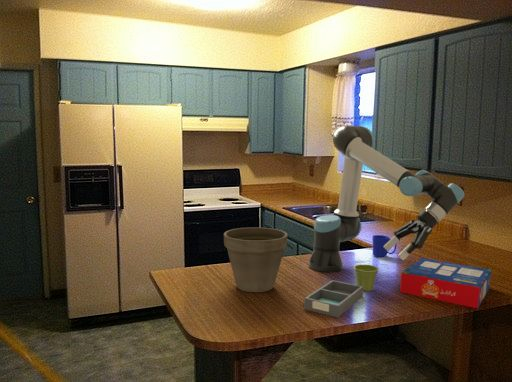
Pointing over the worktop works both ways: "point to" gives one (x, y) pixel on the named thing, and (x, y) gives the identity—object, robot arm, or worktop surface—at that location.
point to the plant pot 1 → (255, 256)
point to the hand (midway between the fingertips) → (392, 253)
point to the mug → (381, 246)
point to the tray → (333, 298)
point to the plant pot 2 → (366, 276)
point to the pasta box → (446, 282)
